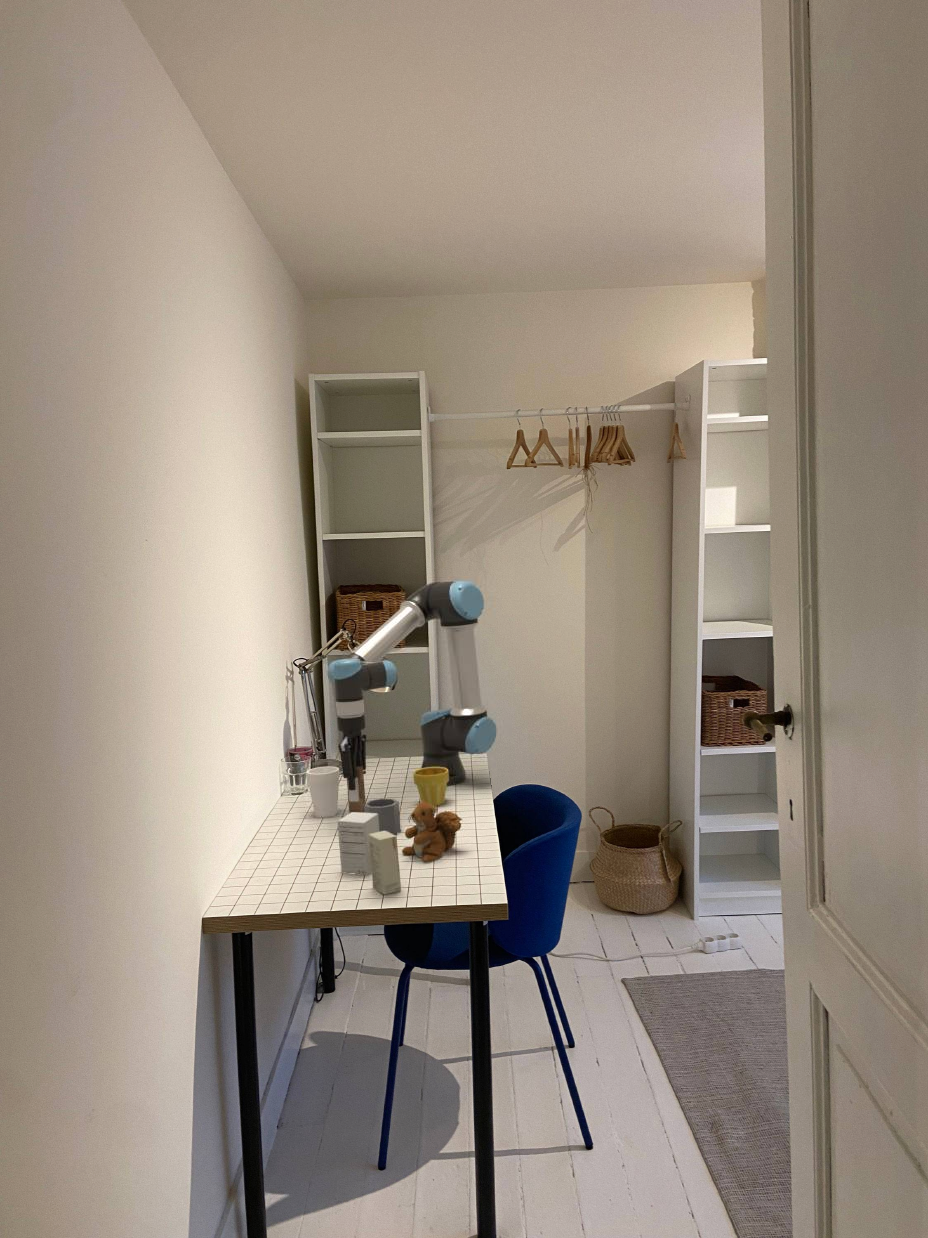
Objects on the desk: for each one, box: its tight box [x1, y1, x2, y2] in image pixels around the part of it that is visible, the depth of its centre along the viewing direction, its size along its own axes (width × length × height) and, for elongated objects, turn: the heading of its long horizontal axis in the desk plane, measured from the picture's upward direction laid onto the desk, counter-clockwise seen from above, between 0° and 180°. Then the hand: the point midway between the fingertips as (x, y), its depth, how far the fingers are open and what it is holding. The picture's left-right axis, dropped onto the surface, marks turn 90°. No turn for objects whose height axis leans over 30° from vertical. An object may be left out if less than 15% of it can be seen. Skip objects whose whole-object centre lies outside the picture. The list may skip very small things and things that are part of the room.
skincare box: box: [369, 831, 402, 895], centre depth 194 cm, size 6×4×12 cm
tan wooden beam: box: [346, 766, 367, 814], centre depth 243 cm, size 2×4×16 cm, turn 72°
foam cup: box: [306, 766, 341, 819], centre depth 256 cm, size 10×9×13 cm
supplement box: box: [336, 812, 379, 876], centre depth 207 cm, size 7×7×13 cm
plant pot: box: [412, 767, 449, 807], centre depth 260 cm, size 10×10×10 cm
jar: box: [364, 797, 402, 835], centre depth 235 cm, size 9×9×8 cm
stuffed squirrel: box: [401, 800, 463, 864], centre depth 215 cm, size 10×14×13 cm
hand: (356, 799), depth 244 cm, fingers closed on tan wooden beam, 2 cm apart
